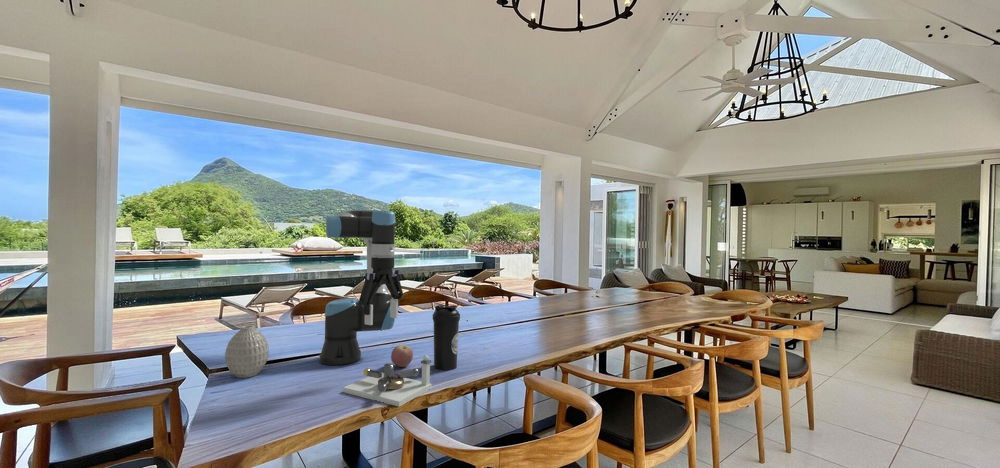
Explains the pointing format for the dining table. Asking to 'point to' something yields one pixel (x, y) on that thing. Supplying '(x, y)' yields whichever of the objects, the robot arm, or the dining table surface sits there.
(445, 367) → the water bottle
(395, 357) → the apple
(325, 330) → the robot arm
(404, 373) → the capstan
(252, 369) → the vase
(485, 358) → the dining table surface
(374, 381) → the stand base
